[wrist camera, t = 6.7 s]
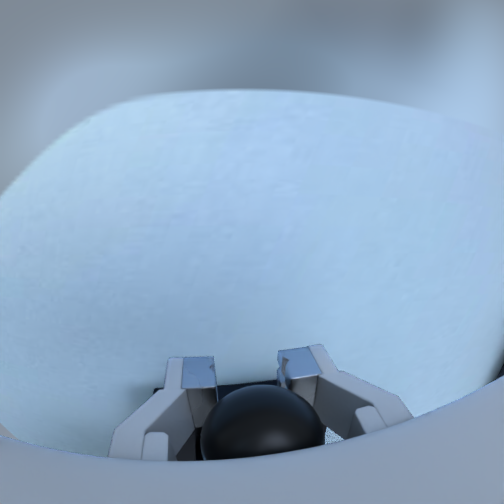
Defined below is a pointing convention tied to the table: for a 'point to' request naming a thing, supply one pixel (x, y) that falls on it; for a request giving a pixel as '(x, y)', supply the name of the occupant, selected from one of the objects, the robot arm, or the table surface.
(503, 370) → the control block
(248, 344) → the table surface
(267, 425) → the lever
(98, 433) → the table surface
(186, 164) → the table surface
